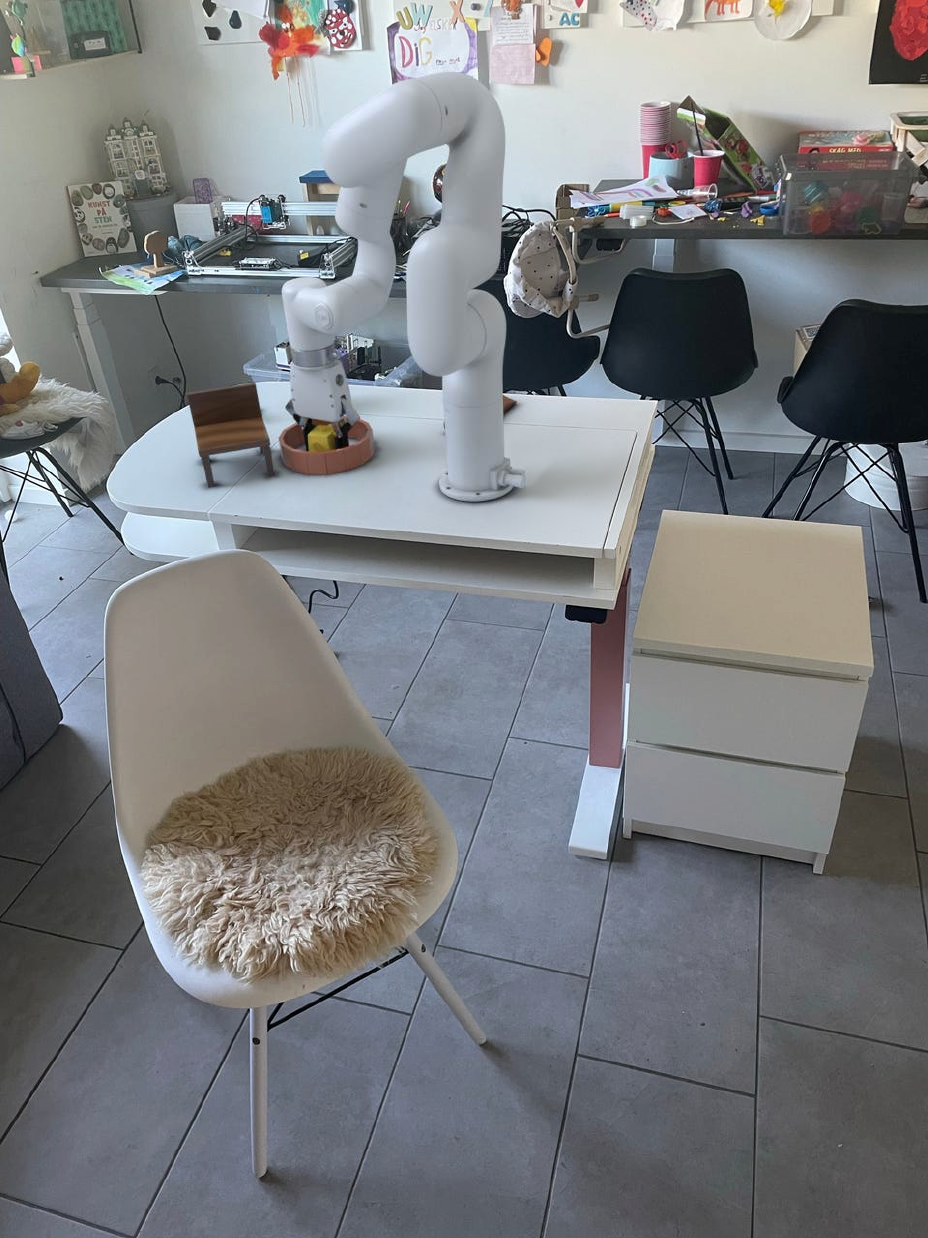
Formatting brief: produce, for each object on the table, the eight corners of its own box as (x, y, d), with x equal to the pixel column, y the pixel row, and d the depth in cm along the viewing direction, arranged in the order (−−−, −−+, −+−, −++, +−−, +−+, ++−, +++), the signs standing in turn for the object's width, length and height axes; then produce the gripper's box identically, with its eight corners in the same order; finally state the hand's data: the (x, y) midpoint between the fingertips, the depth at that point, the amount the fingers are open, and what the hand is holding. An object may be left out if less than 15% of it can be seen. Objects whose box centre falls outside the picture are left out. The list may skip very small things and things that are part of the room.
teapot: (333, 464, 166) (330, 437, 163) (304, 461, 168) (300, 435, 165) (352, 446, 172) (348, 420, 169) (323, 443, 174) (319, 417, 171)
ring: (391, 443, 172) (389, 422, 170) (340, 480, 161) (337, 459, 158) (317, 430, 179) (314, 410, 177) (264, 465, 167) (260, 444, 165)
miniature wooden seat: (276, 475, 164) (263, 405, 156) (207, 488, 161) (190, 416, 154) (267, 449, 173) (255, 381, 166) (202, 460, 171) (186, 392, 163)
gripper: (368, 353, 159) (378, 450, 169) (286, 342, 166) (301, 436, 176) (343, 367, 153) (356, 467, 163) (260, 355, 160) (277, 452, 171)
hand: (327, 450), depth 170 cm, fingers closed on teapot, 6 cm apart
